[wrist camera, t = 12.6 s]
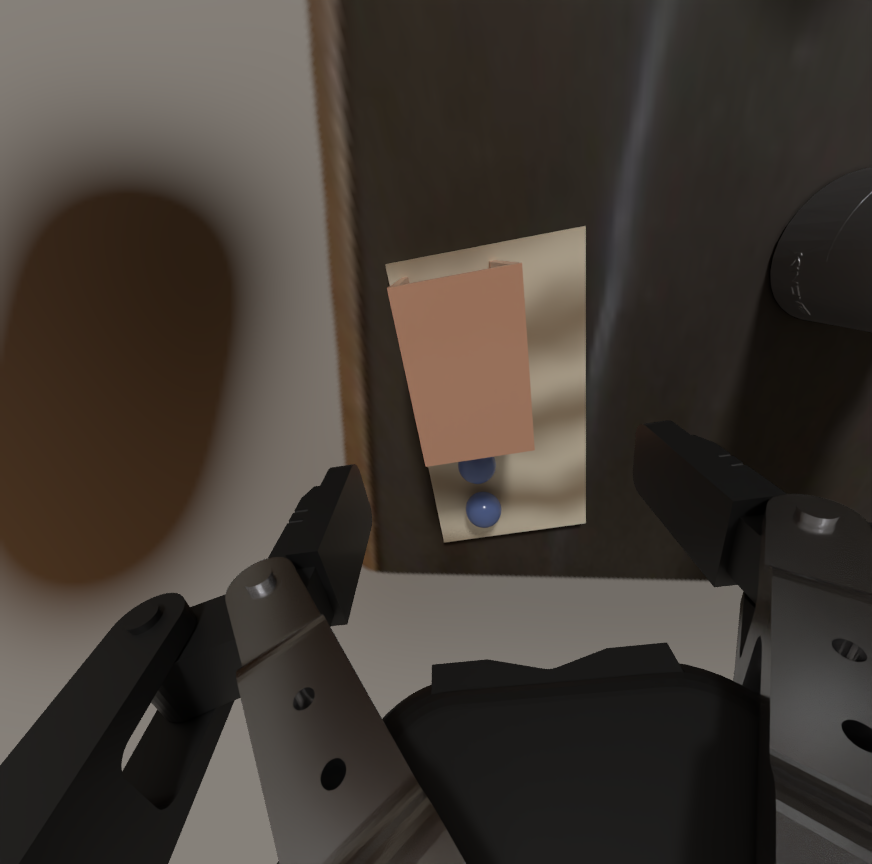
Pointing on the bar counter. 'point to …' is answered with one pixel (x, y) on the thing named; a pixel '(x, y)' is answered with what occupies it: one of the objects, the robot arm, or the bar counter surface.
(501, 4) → the bar counter surface
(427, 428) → the terracotta cover
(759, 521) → the robot arm
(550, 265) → the birch mat
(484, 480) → the navy marble front
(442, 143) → the bar counter surface
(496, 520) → the navy marble back
